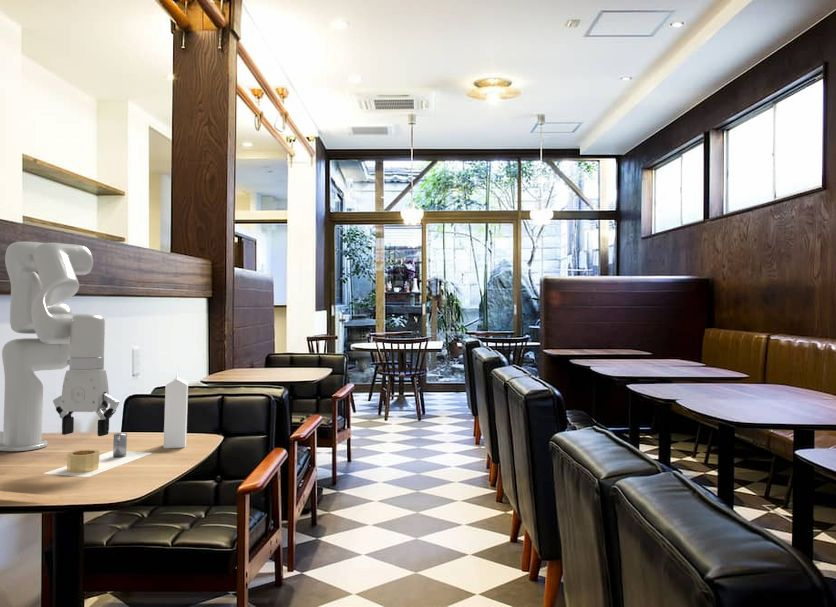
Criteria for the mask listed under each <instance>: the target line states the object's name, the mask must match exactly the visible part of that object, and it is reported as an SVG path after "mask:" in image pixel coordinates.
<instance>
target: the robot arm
mask: <svg viewBox="0 0 836 607" xmlns="http://www.w3.org/2000/svg"><path fill="white" fill-rule="evenodd" d="M4 256H5V257H4V260H5V262H4V263H5V268H6V271H7V275H8V278H9V282H10V308H9V324H10V328H11V330H12V331H13V332H14V333H16V334H17V333H18V334H26V335H29V334H30V335H36V336H37V337H34V338H31V337H28V338H27V337H26V338H24V337H23V338H16V339H11V340H10V341H7V342H6V343H5V344H4V345H3V347H2V350H1V356H2V357H1V358H2V365H3V373H4V397H3V398H4V399H3V400H4V402H3V403H4V405H3V429H2V431H0V452H23V451H26V452H27V451H33V450H37V449H42V448H45V447H47V446H48V440H46V439H43V438H42V436H43V433H42V432H43V408H44V407H43V406H44V405H43V404H44V385H43V383H42V381H41V380H40V378H38V376H37V375H36V374H35V372H39V371H55V370H56V371H57V370H63V369H65V368H67V367H69V368H68V369H69V370H66V372H65V374H64V377H63V378H64V379H63V382H62V389H61V395H59V396H58V397H56V398H54V399H53V400H52V402H53V405H54V407H55V410H56V412H57V414H58V415H59V418H60V419H61V435H63V436H67V435H70V434H73V433H74V425H75V424H74V423H75V422H74V421H75V419H74V418H75V417H74V416H72V415H73V414H74V413H94V412H95V413H96V415H97V416H98V417H99V419H98V420H97V436H98V437H104V436H108V435H109V432H110V419H111V418H112V417H113V415H114V414H115V413H116V412H117V409H118V407H119V405H120V401H119V400H118V399H116V398H115V397H114V396H111V395H110V394H109V380H108V374H107V371H106V369H105V338H106V337H105V334H106V331H105V326H106V323H105V318H104V316H102V315H98V314H87V313H72V310H71V308H70V306H69V305H68V304H66V303H64V301H66V300H68V299H71V298H72V297H74V296H75V295H76V294H77V293H78V291H79V289H80V282H79V280H78V276H85V275H88V274H90V273H91V271H92V270H93V267H94V257H93V255H92V252H91V251H90V250H89V248H88V247H86V245H80V244H71V243H62V242H40V241H39V242H38V241H16V242H12V243H11V244H9V245H8V246H7V248H6V252H5V255H4Z"/></svg>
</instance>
